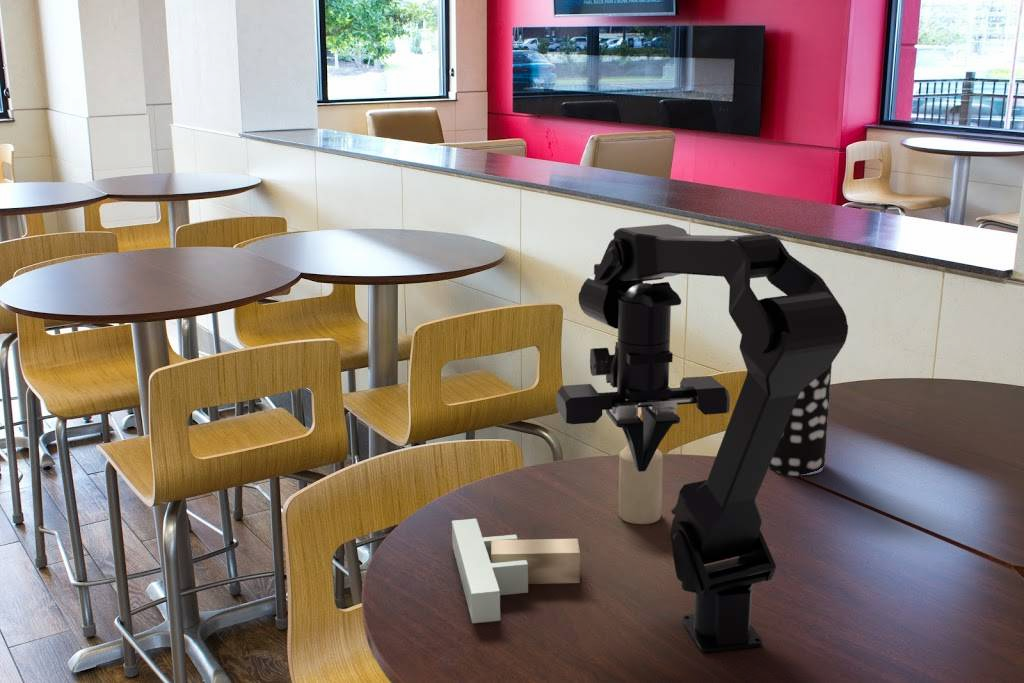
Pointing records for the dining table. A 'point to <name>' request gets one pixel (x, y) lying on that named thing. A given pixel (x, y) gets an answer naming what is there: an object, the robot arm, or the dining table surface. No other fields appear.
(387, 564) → the dining table surface
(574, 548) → the tan wooden block
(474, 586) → the rail
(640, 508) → the candle
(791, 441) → the spotted tube
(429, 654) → the dining table surface
